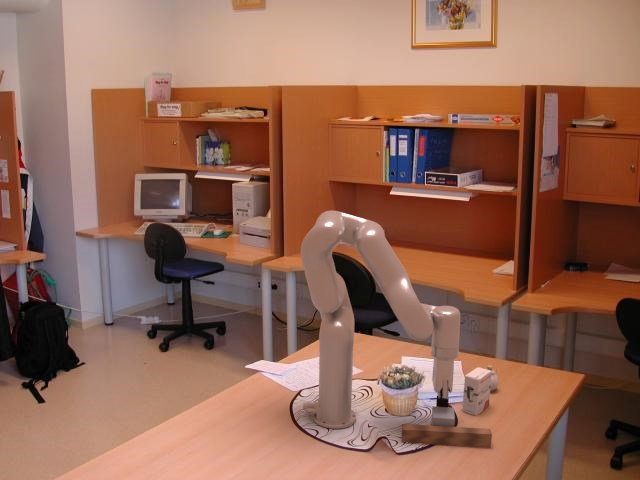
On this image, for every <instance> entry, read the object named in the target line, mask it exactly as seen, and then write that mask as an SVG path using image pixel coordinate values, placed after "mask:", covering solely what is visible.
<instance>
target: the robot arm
mask: <svg viewBox="0 0 640 480" xmlns="http://www.w3.org/2000/svg"><path fill="white" fill-rule="evenodd" d="M340 243H342V244H346V245H350V246H354V248H355V250H356V253H358V255H359V256H360V258H361V260H362V262H363V263H364V264H365V266H366V267H367V269H368V270H369V272H370V273H371V275H372V277H373V278H374V280H375V282H376V284H378V286H379V288H380V290H381V293H382V294H383V296H384V298H385V299H386V301H387V303H388V304H389V306H390V308H391V309H392V312H393V313H394V315H395V317H396V319H397V320H398V322H399V323H400V325H401V326H402V328H403V329H404V331H405V332H406V333H407V335H408V336H409V337H410V338H411V339H413V340H415V341H420V342H421V341H422V342H423V341H425V340H426V341H427V340H428V339H429V338H430V337H431V348H430V349H431V351H430V352H431V353H430V354H431V356H432V357H433V364H432V365H433V367H432V378H431V379H432V380H431V381H432V385H433V386H432V387H433V391H434V392H435V393H437V395H436V402H435V403H436V404H435V405H436V406H435V407H448V408H449V400H450V398H449V394H450V393H452V392H453V387H454V373H455V372H454V371H455V370H454V368H455V360H456V359H458V357H459V351H460V349H459V348H460V333H461V330H460V328H461V312H460V310H459V308H457V307H455V306H452V305H440V306H438V305H431V304H427V303H422V302H420V300H419V298H418V296H417V294H416V292H415V291H414V290H415V289H414V288H413V286H412V283H411V280H410V277H409V273H407V270H406V268H405V267H404V265H403V264H402V262H401V260H400V259H399V258H398V255H397V254H396V252H395V251H394V249H393V247H392V246H391V245H390V243H389V241H388V239H387V238H386V235H385V230H384V229H383V227H382V226H381V225H380V224H379V223H378V222H375V221H373V220H370V219H366V218H364V217H359V216H356V215H353V214H349V213H345V212H342V211H338V210H326V211H324V212H322V213H320V215H319V216H318V217H317V219H316V221H315V223H314V225H313V227H312V228H311V229H310V230H309V231H308V232H307V233H306V234H305V236H304V238H303V240H302V242H301V245H300V258H301V259H300V260H301V263H302V266H303V271H304V275H305V279H306V283H307V287H308V290H309V291H308V292H309V294H310V299H311V303H312V305H313V306H314V308H316V311H318V312H319V313H320V318H321V323H320V327H319V335H318V343H319V344H318V345H319V346H318V347H319V350H318V352H319V354H318V357H319V358H318V359H319V361H318V365H319V366H318V371H319V372H318V399H317V402H316V401H315V402H313V403H312V402H303V403H302V409H303V410H305V411H306V412H305V413H312V420H313V421H314V423H316V424H317V425H318V426H320V427H322V428H326V429H335V430H339V429H345V428H348V427H351V426H352V425H354V424H355V423H356V422H357V414H356V412H355V411H354V410H353V409H352V395H353V393H352V392H353V364H354V363H353V361H354V343H355V342H354V341H355V315H354V312H353V307H352V304H351V300H350V297H349V293H348V292H349V291H348V288H347V286H346V282H345V280H344V278H343V277H342V276H341V275H340V274H339V273H338V272H337V271H336V266H335V265H336V264H335V262H334V261H335V260H334V259H333V250H334V249H335V248H337V246H338V245H339V244H340Z"/></svg>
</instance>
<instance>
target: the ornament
mask: <svg viewBox="0 0 640 480" xmlns="http://www.w3.org/2000/svg"><path fill="white" fill-rule="evenodd" d="M486 367H487V368H486V369H487V370H490V371H492V374H491V386H490V392H491V391H493V390H495V389H496V388H497V387H498V386H499V378H498V376H497V373H498V371H497V368H496V369H493V368H494V367H496V365H495V363H493V364H492V365H490V364H488V365H487V366H486Z"/></svg>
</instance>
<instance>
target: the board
mask: <svg viewBox="0 0 640 480" xmlns="http://www.w3.org/2000/svg"><path fill="white" fill-rule="evenodd" d="M401 437H402V439H401V443H402V442H408V443H407V444H416V443H422V444H421V445H437V446H453V447H470V448H471V447H473V448H474V447H475V448H490V449H491V448H492V439H493V433H492V431H491V428H479V427H463V426H454V427H447V426H431V425H429V424H428V425H427V424H409V423H407V424H405V423H401Z"/></svg>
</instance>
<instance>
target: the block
mask: <svg viewBox="0 0 640 480" xmlns="http://www.w3.org/2000/svg"><path fill="white" fill-rule="evenodd" d="M431 409H432V410H431V419H430V420H431V423H430V426H447V427H455V422H456V419H455V418H456V416H455V408H454V407H449V406H448V407H436V406H432V407H431Z"/></svg>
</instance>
